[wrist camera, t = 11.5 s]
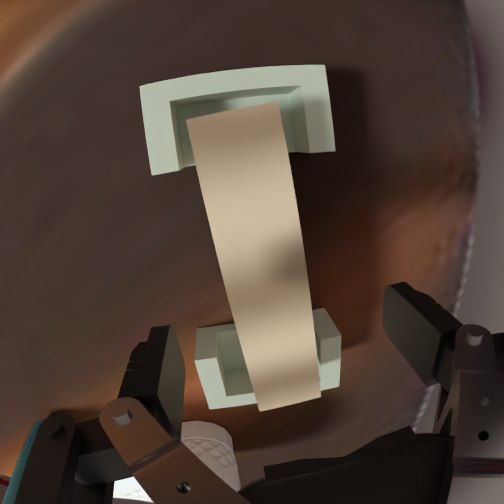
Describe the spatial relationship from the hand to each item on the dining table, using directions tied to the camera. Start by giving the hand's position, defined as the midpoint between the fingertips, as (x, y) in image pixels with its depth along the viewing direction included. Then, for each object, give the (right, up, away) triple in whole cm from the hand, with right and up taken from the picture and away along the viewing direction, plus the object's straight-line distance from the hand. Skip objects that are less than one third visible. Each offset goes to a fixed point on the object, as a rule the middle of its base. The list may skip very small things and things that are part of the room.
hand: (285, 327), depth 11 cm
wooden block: (-1, +3, +10) cm, 10 cm away
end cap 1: (-2, +11, +8) cm, 14 cm away
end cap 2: (0, -5, +14) cm, 14 cm away
